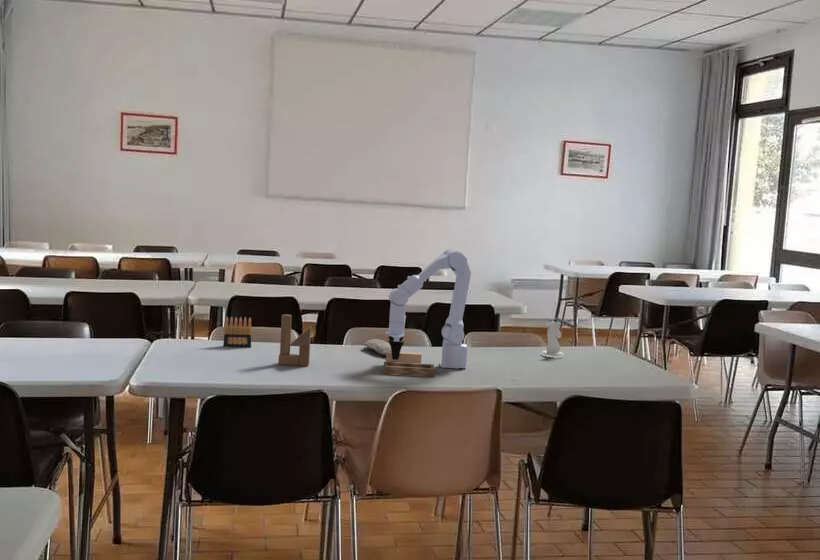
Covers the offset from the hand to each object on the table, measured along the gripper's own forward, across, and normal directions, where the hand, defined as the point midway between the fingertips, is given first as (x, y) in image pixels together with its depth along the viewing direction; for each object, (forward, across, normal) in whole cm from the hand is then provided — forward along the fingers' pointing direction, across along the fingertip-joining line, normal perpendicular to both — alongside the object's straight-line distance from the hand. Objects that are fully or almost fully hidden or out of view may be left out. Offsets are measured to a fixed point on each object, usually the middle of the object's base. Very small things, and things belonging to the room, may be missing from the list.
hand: (395, 357), depth 301 cm
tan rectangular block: (+4, 0, +3) cm, 5 cm away
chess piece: (+4, -37, +67) cm, 77 cm away
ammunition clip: (+3, -20, -62) cm, 65 cm away
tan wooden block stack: (+3, +7, -37) cm, 37 cm away
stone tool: (+4, -24, -5) cm, 25 cm away
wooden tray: (+3, +10, +5) cm, 12 cm away
